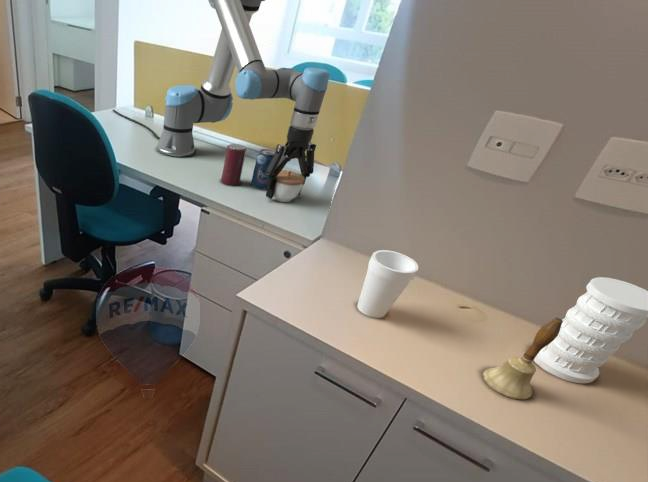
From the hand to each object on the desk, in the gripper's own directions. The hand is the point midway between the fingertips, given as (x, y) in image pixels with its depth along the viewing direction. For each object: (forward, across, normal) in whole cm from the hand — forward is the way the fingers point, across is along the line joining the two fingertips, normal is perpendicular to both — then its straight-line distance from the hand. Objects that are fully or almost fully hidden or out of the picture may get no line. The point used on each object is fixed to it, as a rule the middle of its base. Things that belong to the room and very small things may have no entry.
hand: (282, 195), depth 151 cm
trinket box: (+1, 0, 0) cm, 1 cm away
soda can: (+1, -2, +11) cm, 11 cm away
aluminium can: (+1, -10, +17) cm, 20 cm away
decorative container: (+1, +8, -88) cm, 88 cm away
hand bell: (+1, -10, -88) cm, 89 cm away
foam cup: (+1, -18, -60) cm, 63 cm away
